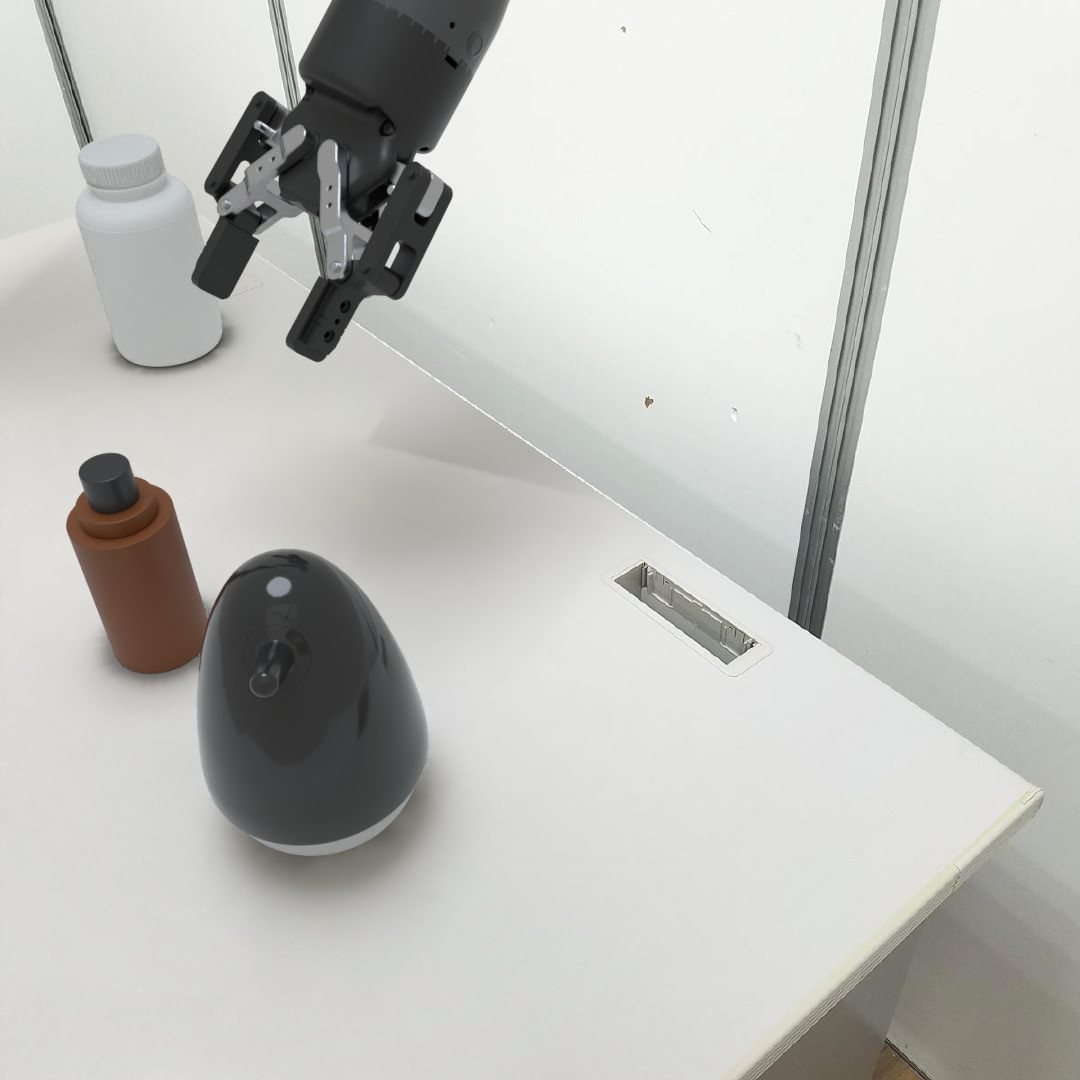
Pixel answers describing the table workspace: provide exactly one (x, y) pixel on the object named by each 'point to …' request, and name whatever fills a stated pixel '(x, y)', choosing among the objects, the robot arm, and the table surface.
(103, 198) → the pill bottle
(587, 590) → the table surface
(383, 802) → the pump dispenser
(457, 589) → the table surface
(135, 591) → the amber bottle
